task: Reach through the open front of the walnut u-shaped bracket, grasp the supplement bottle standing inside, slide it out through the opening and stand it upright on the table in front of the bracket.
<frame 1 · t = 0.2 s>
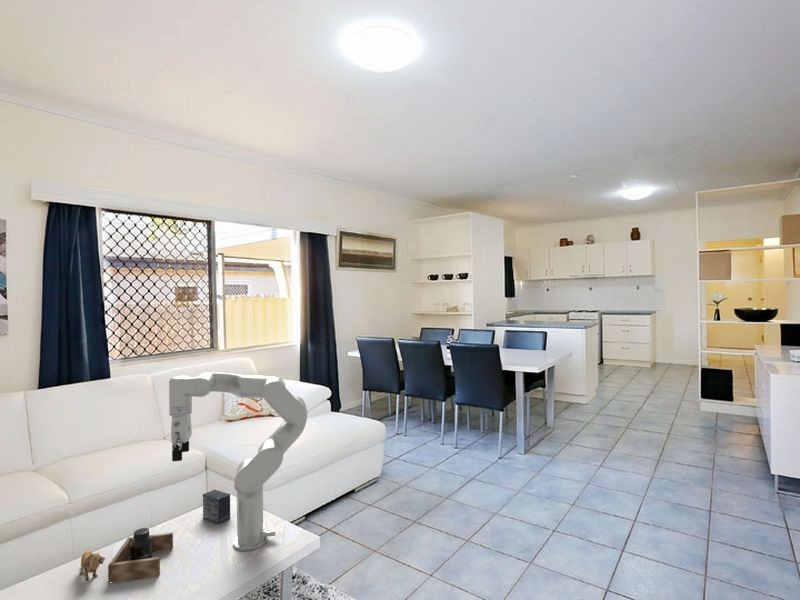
hand: (180, 456, 164), 36 cm above the table, tool pointing down, fingers open, 9 cm apart
small box: (216, 518, 189), on the table
supplement bottle: (141, 565, 156), on the table
walnut u-shaped bracket: (144, 564, 156), on the table
lion figurine: (90, 575, 151), on the table
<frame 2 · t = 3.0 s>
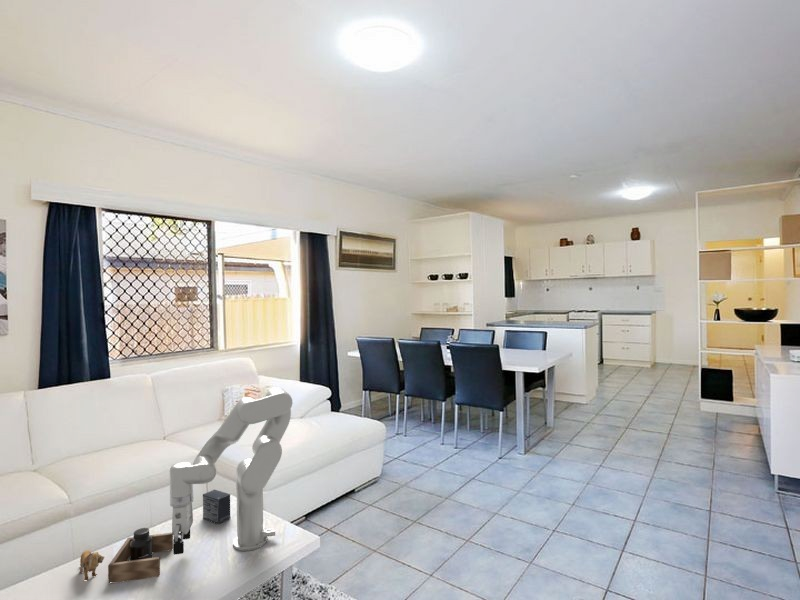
hand: (182, 546, 159), 5 cm above the table, tool pointing down, fingers open, 9 cm apart
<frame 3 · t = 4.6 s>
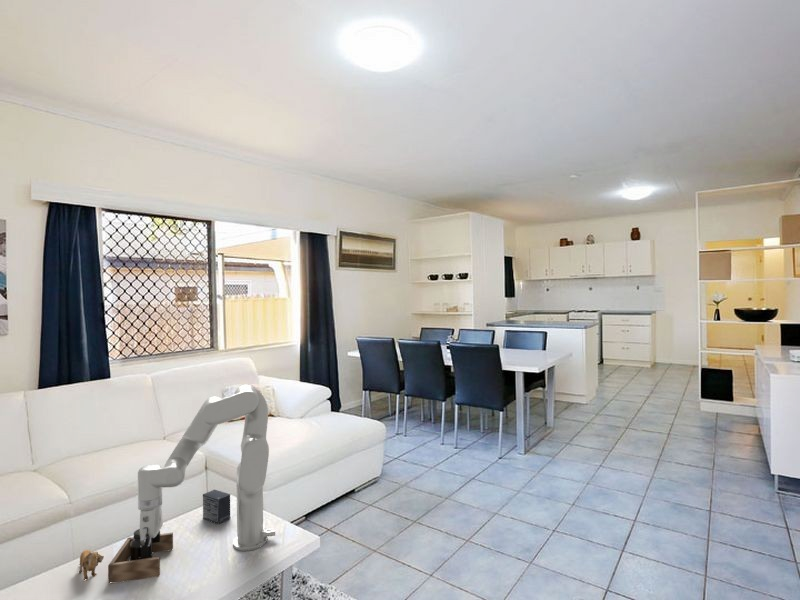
hand: (150, 549, 157), 5 cm above the table, tool pointing down, fingers open, 9 cm apart
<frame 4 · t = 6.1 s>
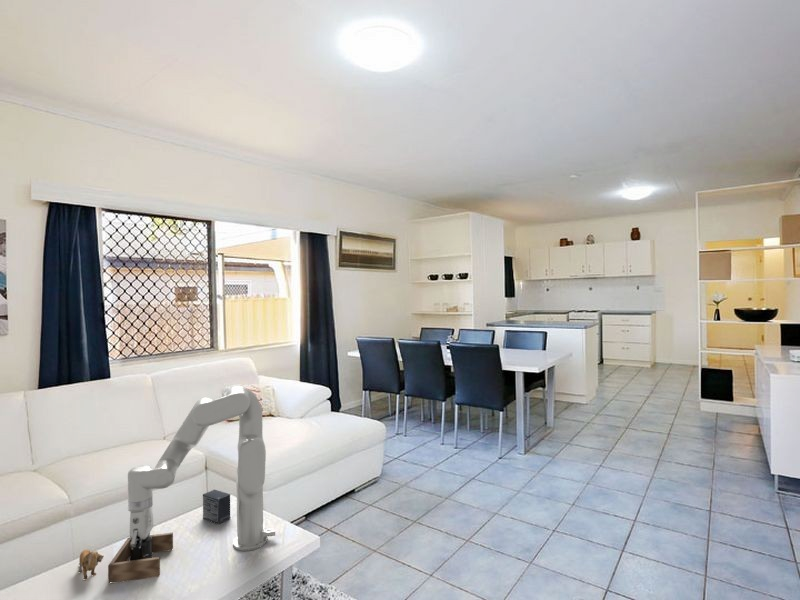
hand: (141, 552, 156), 4 cm above the table, tool pointing down, fingers closed on supplement bottle, 6 cm apart
supplement bottle: (141, 565, 156), on the table, touching gripper
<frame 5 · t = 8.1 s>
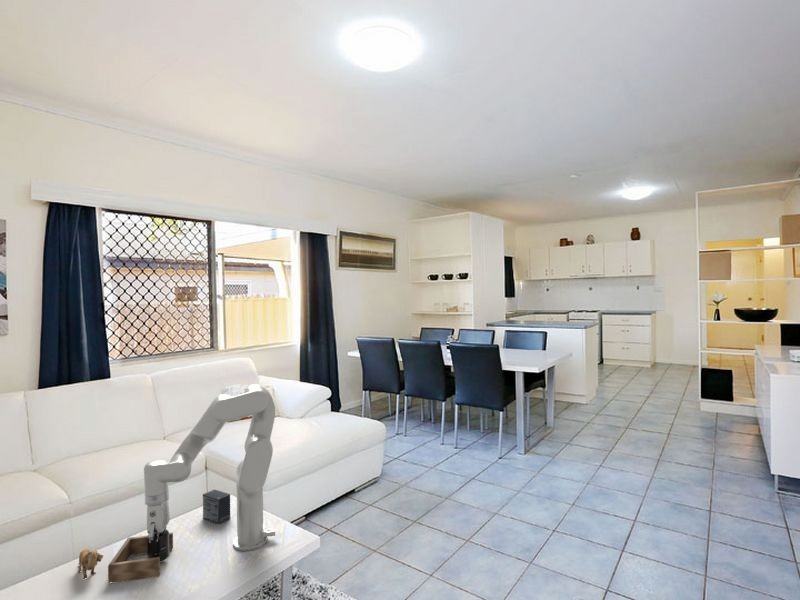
hand: (158, 546, 157), 6 cm above the table, tool pointing down, fingers closed on supplement bottle, 6 cm apart
supplement bottle: (158, 558, 157), point 1 cm above the table, touching gripper
when the fingers open (5 cm above the table, at t = 10.5 s): supplement bottle stays where it is, on the table.
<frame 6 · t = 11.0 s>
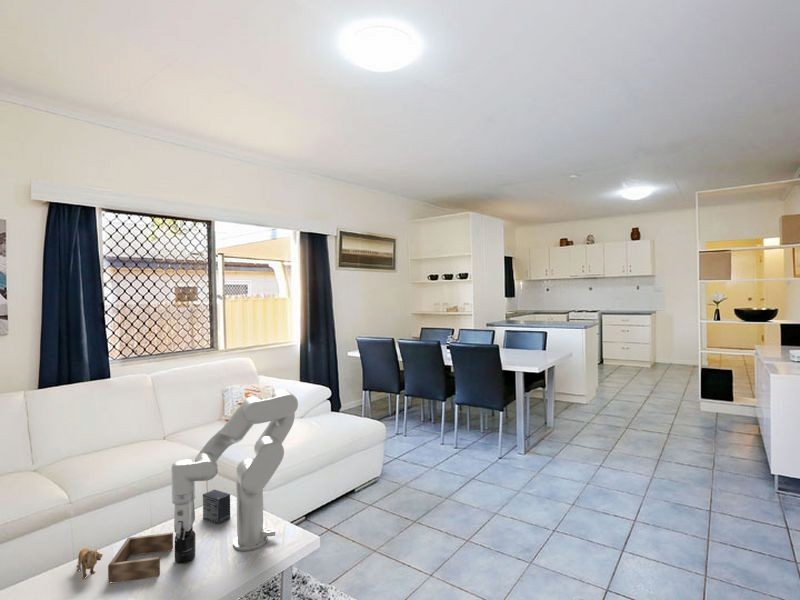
hand: (184, 543, 159), 6 cm above the table, tool pointing down, fingers open, 9 cm apart
supplement bottle: (185, 559, 159), on the table
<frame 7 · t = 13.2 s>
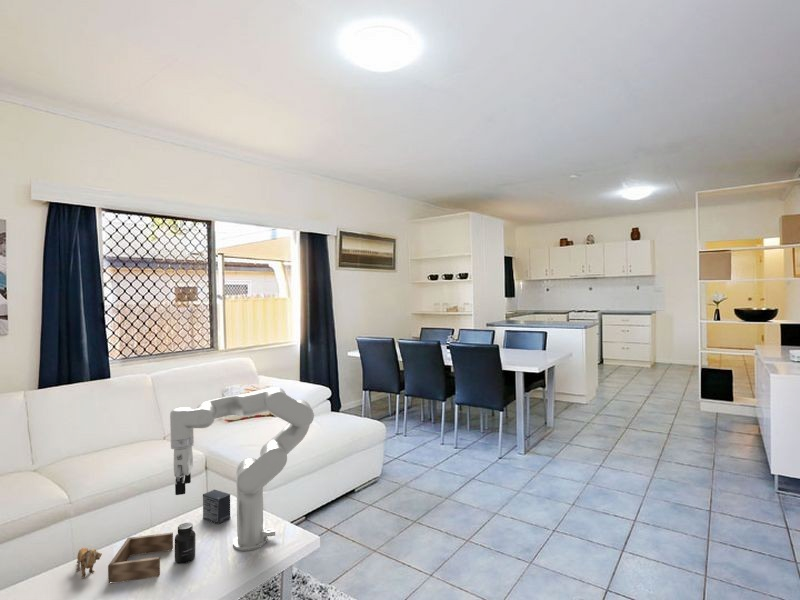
hand: (183, 488, 162), 24 cm above the table, tool pointing down, fingers open, 9 cm apart
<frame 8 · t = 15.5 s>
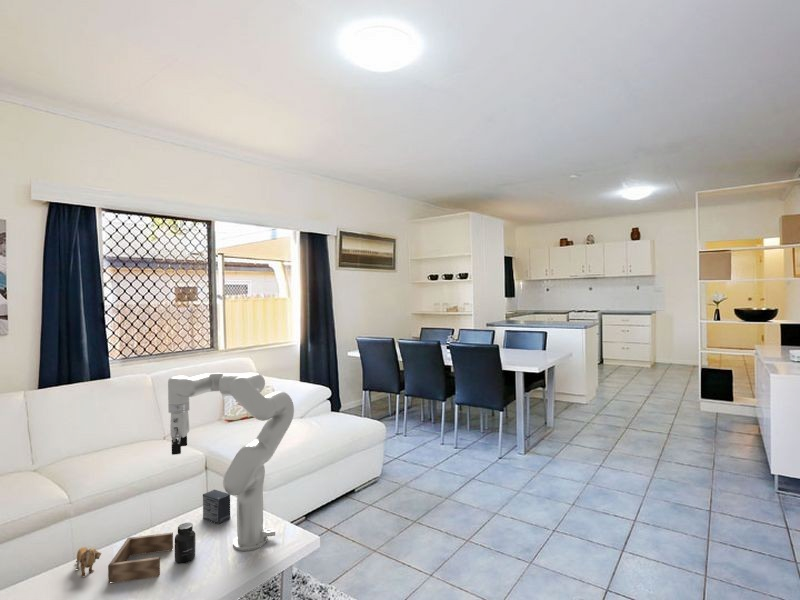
hand: (179, 449, 177), 33 cm above the table, tool pointing down, fingers open, 9 cm apart
at the end: supplement bottle inside the target area (1.3 cm from its centre), on the table; supplement bottle tilted 0°; the gripper is holding nothing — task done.
